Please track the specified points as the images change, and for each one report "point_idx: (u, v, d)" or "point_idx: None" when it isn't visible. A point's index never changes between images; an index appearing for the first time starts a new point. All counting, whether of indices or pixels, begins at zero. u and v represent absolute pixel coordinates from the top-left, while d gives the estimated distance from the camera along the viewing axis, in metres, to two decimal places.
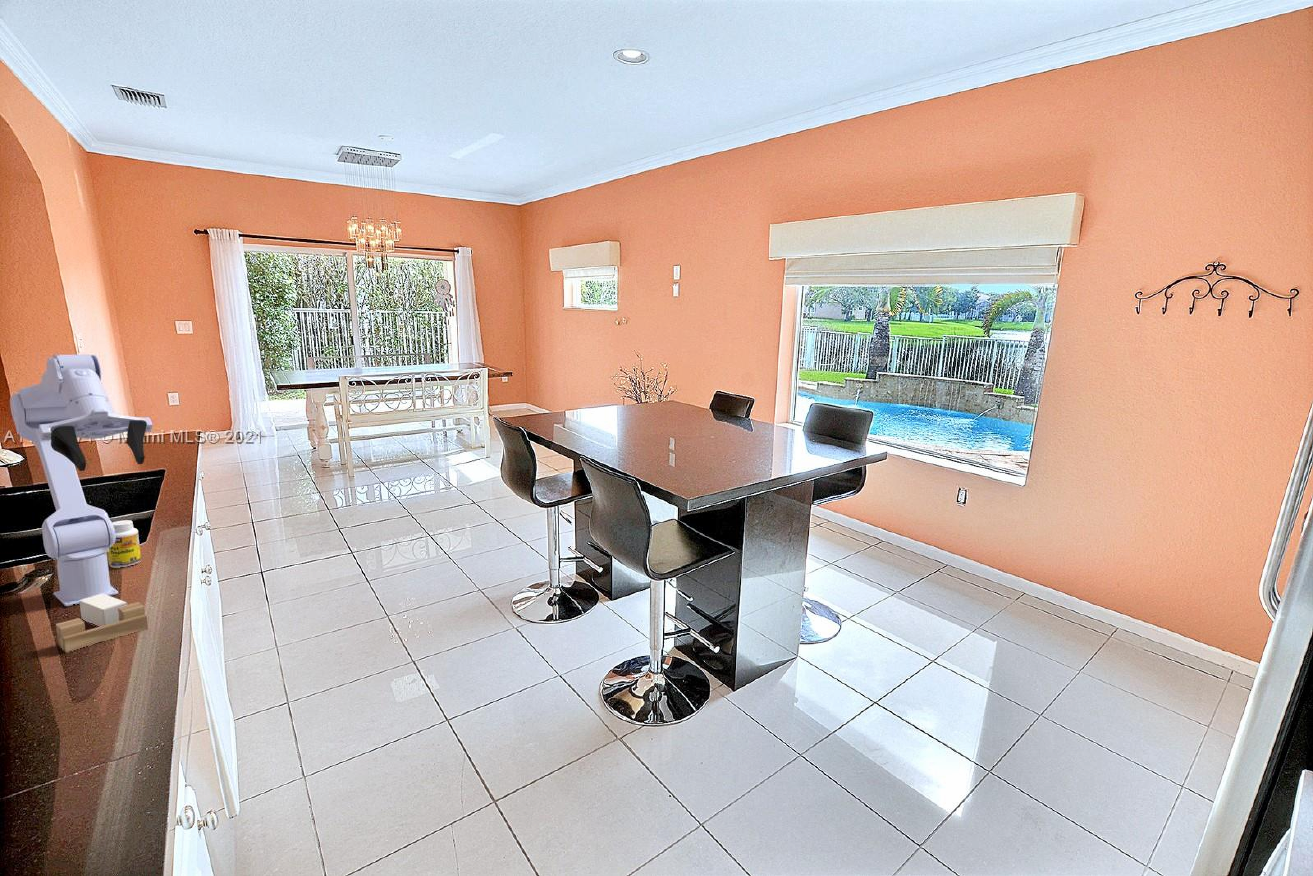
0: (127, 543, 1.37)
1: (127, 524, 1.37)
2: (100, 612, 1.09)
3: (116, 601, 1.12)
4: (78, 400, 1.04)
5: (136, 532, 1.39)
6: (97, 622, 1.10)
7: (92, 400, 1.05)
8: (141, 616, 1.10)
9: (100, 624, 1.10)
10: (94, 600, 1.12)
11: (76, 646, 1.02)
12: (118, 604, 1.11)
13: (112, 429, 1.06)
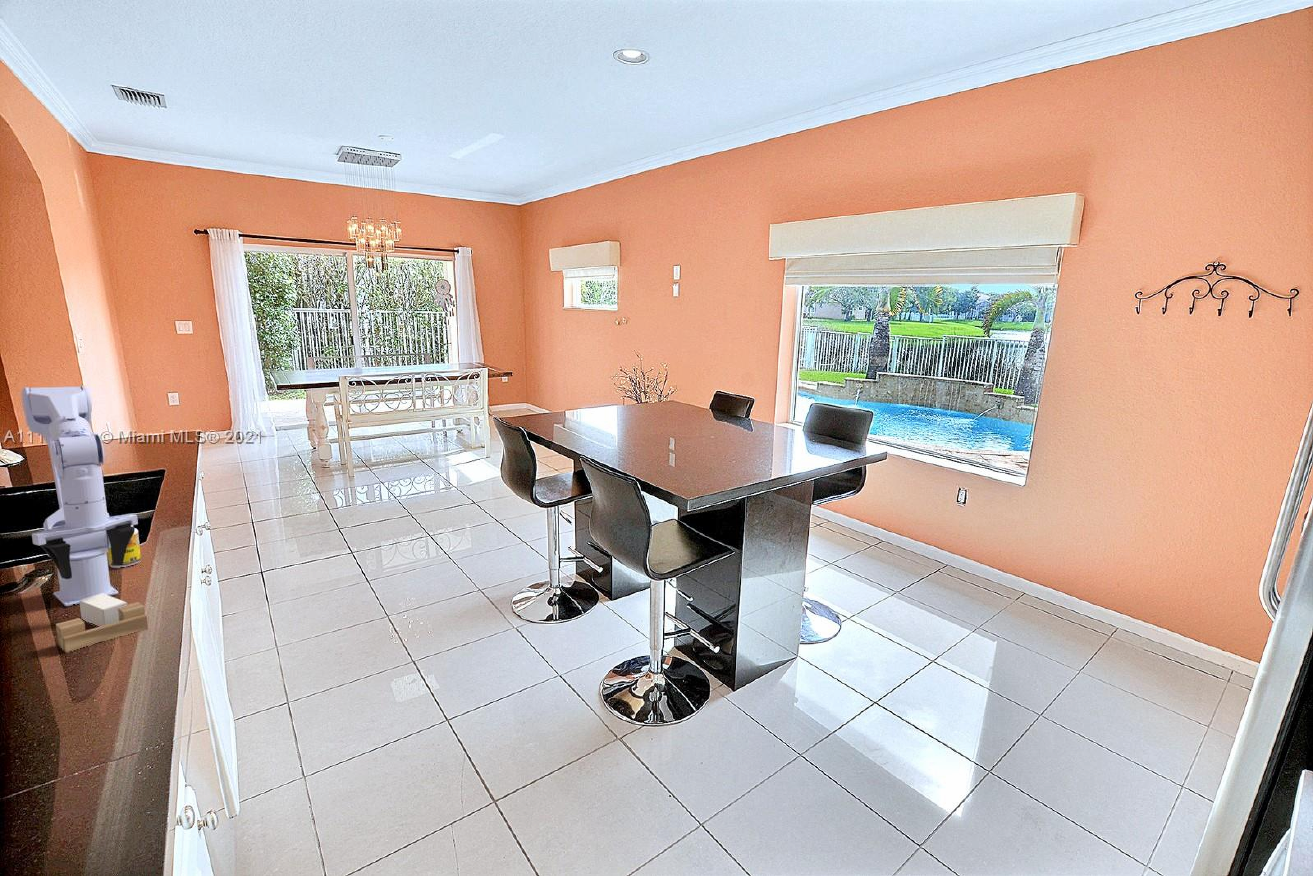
0: None
1: None
2: (100, 612, 1.09)
3: (116, 601, 1.12)
4: (79, 507, 1.07)
5: (136, 532, 1.39)
6: (97, 622, 1.10)
7: (92, 509, 1.09)
8: (141, 616, 1.10)
9: (100, 624, 1.10)
10: (94, 600, 1.12)
11: (76, 646, 1.02)
12: (118, 604, 1.11)
13: (100, 530, 1.12)
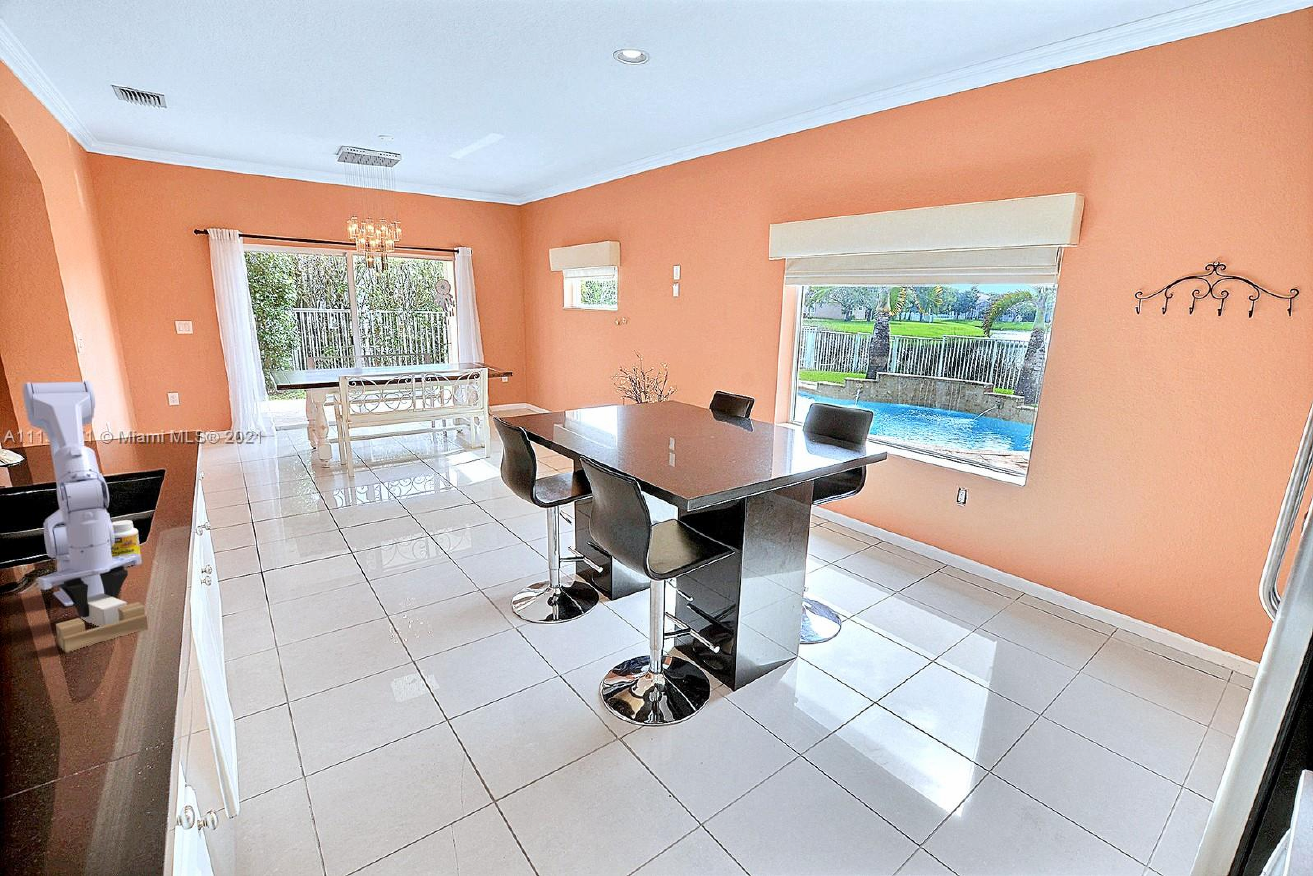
0: (127, 543, 1.37)
1: (127, 524, 1.37)
2: (100, 611, 1.09)
3: (116, 601, 1.12)
4: (84, 551, 1.09)
5: (136, 532, 1.39)
6: (97, 622, 1.10)
7: (97, 552, 1.10)
8: (141, 616, 1.10)
9: (100, 624, 1.10)
10: (93, 599, 1.12)
11: (76, 646, 1.02)
12: (118, 604, 1.11)
13: (105, 571, 1.13)
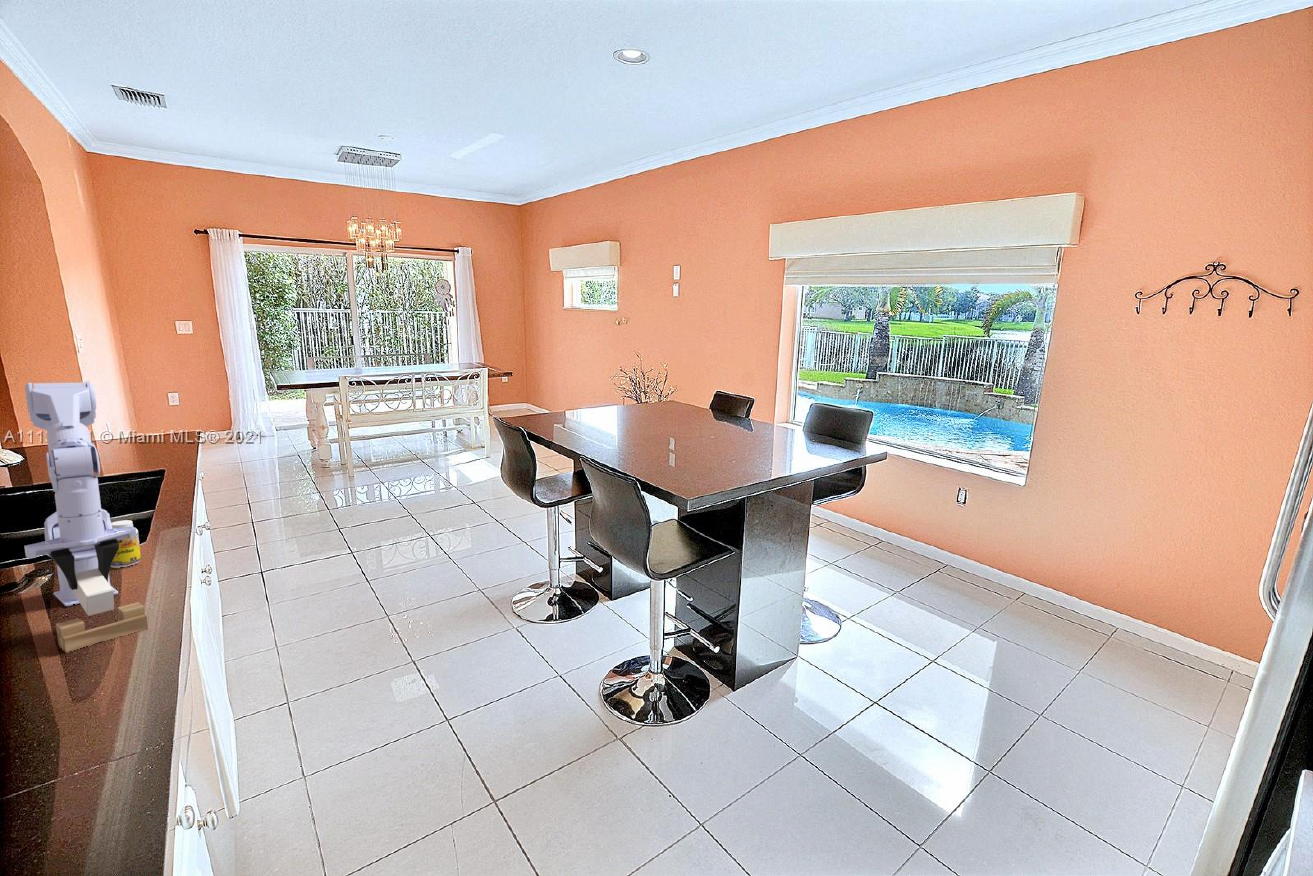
0: (127, 543, 1.37)
1: (127, 524, 1.37)
2: (84, 596, 1.05)
3: (104, 585, 1.07)
4: (70, 520, 1.04)
5: (136, 532, 1.39)
6: (82, 603, 1.06)
7: (84, 523, 1.06)
8: (141, 616, 1.10)
9: (84, 607, 1.06)
10: (85, 577, 1.08)
11: (76, 646, 1.02)
12: (104, 591, 1.06)
13: (96, 543, 1.09)
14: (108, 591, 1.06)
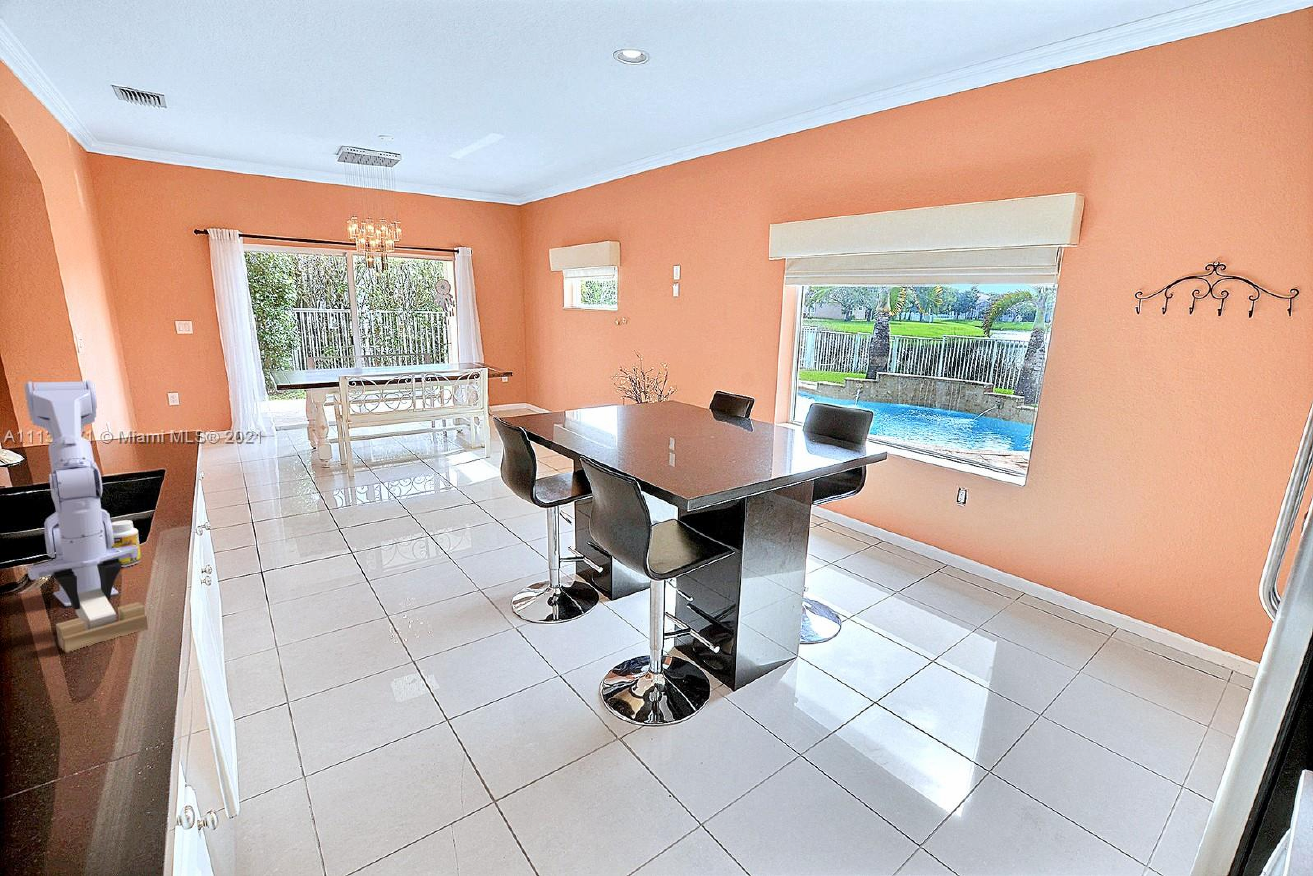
0: (127, 543, 1.37)
1: (127, 524, 1.37)
2: (87, 619, 1.06)
3: (107, 608, 1.08)
4: (73, 541, 1.05)
5: (136, 532, 1.39)
6: (85, 625, 1.07)
7: (87, 543, 1.06)
8: (141, 616, 1.10)
9: (87, 629, 1.07)
10: (88, 598, 1.09)
11: (76, 646, 1.02)
12: (107, 614, 1.07)
13: (99, 563, 1.10)
14: (111, 614, 1.07)
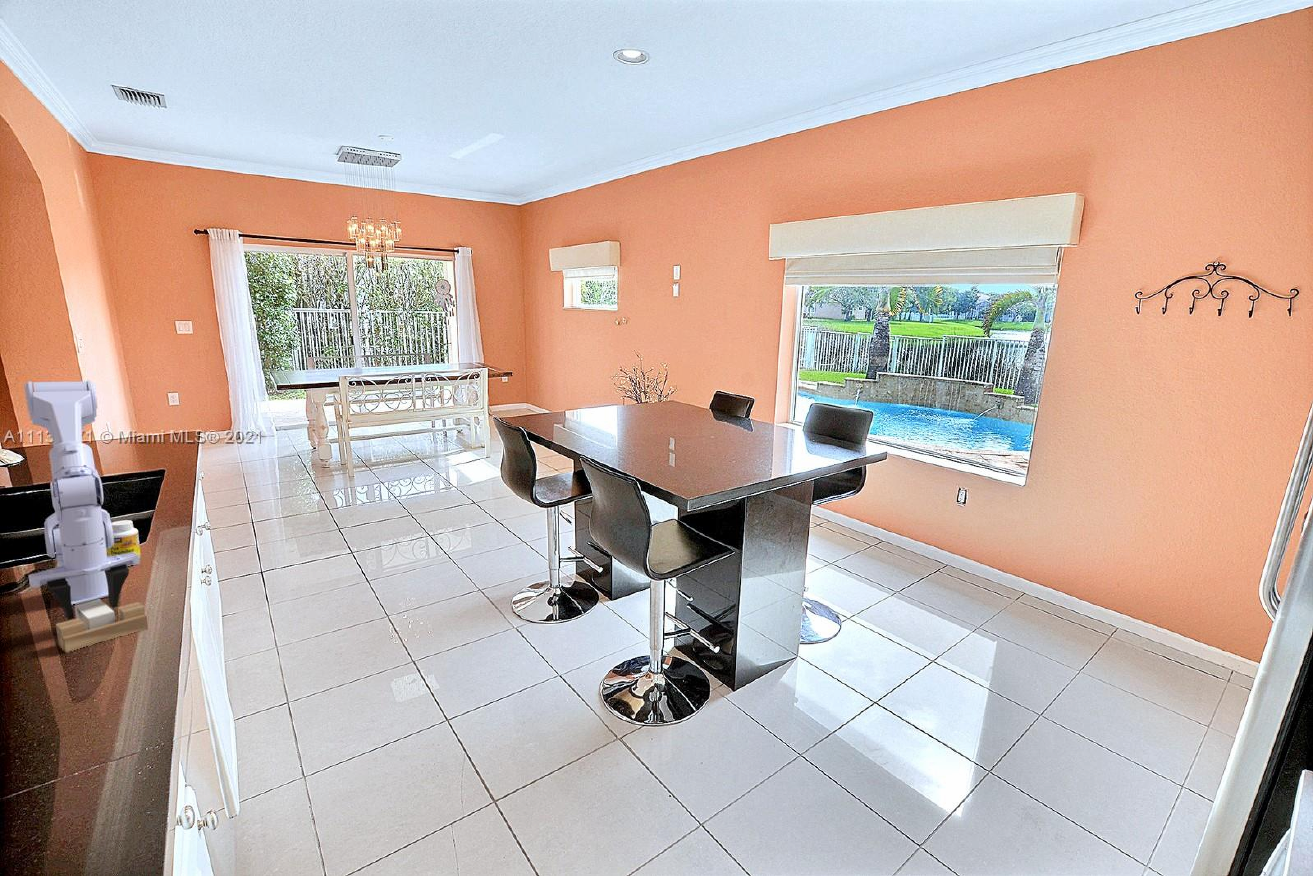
0: (127, 543, 1.37)
1: (127, 524, 1.37)
2: (86, 620, 1.06)
3: (105, 609, 1.09)
4: (74, 549, 1.05)
5: (136, 532, 1.39)
6: (85, 630, 1.07)
7: (88, 551, 1.06)
8: (141, 616, 1.10)
9: None
10: (87, 606, 1.10)
11: (76, 646, 1.02)
12: (105, 613, 1.07)
13: (100, 570, 1.10)
14: (109, 613, 1.08)
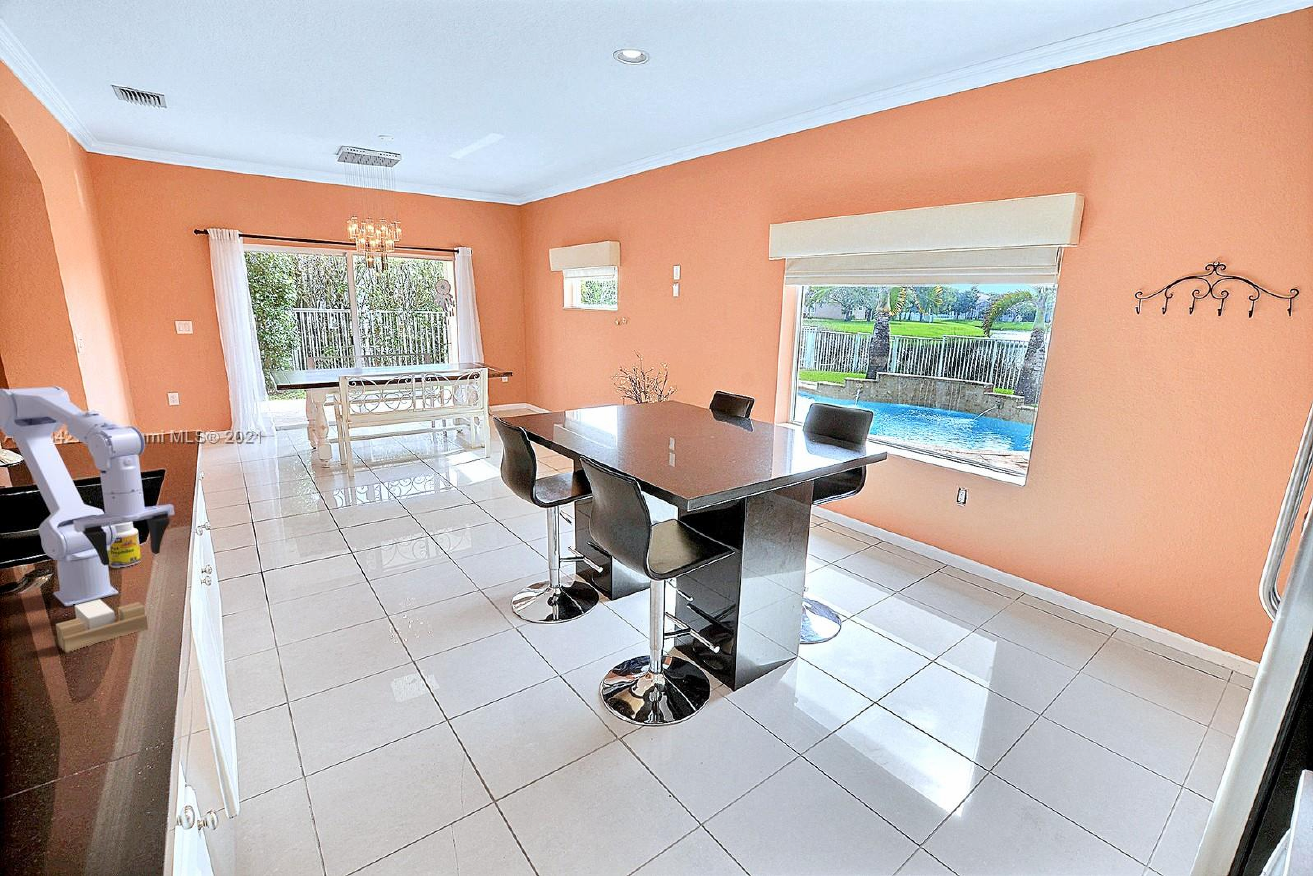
0: (127, 543, 1.37)
1: (127, 524, 1.37)
2: (86, 620, 1.06)
3: (105, 609, 1.09)
4: (115, 497, 1.12)
5: (136, 532, 1.39)
6: (85, 630, 1.07)
7: (127, 499, 1.13)
8: (141, 616, 1.10)
9: None
10: (87, 606, 1.10)
11: (76, 646, 1.02)
12: (105, 613, 1.07)
13: (138, 519, 1.16)
14: (109, 613, 1.08)
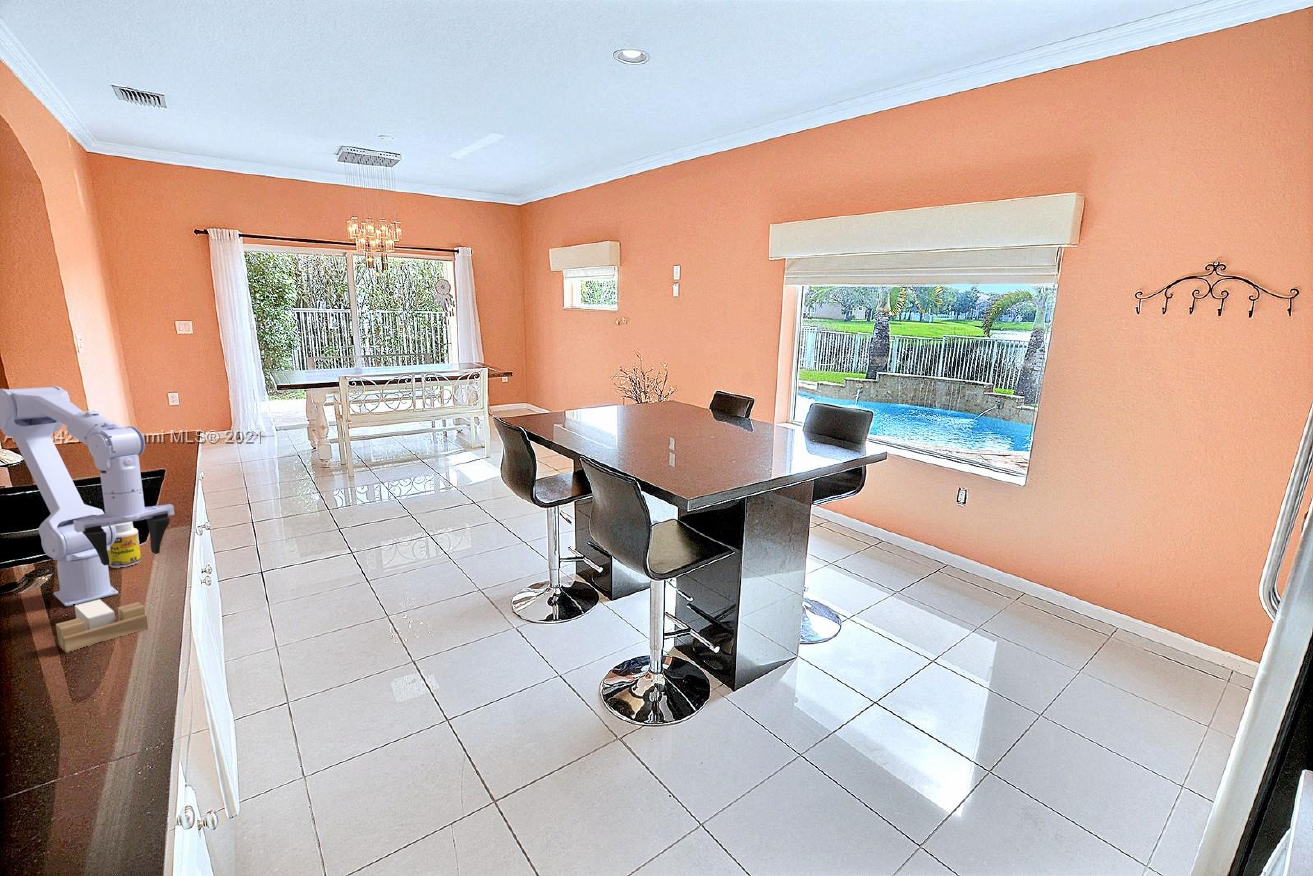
0: (127, 543, 1.37)
1: (127, 524, 1.37)
2: (86, 620, 1.06)
3: (105, 609, 1.09)
4: (115, 497, 1.12)
5: (136, 532, 1.39)
6: (85, 630, 1.07)
7: (127, 499, 1.13)
8: (141, 616, 1.10)
9: None
10: (87, 606, 1.10)
11: (76, 646, 1.02)
12: (105, 613, 1.07)
13: (138, 519, 1.16)
14: (109, 613, 1.08)
